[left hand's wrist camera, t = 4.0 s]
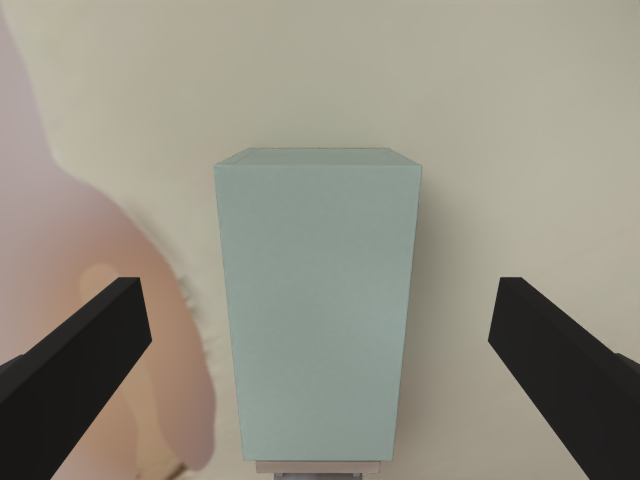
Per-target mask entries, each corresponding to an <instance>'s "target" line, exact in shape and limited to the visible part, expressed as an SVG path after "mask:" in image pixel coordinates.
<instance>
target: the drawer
mask: <svg viewBox="0 0 640 480" xmlns="http://www.w3.org/2000/svg"><path fill="white" fill-rule="evenodd" d="M256 471H257V473H274V480H362V473H379V471H380V461H309V460H256Z"/></svg>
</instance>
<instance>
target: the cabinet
mask: <svg viewBox="0 0 640 480" xmlns="http://www.w3.org/2000/svg"><path fill="white" fill-rule="evenodd" d="M213 167H214V177H215V186H216V196H217V206H218V216H219V226H220V235H221V245H222V255H223V265H224V274H225V284H226V294H227V304H228V314H229V323H230V333H231V343H232V353H233V362H234V372H235V382H236V392H237V402H238V411H239V421H240V431H241V441H242V450H243V460H309V461H392V458H393V449H394V439H395V429H396V419H397V410H398V400H399V390H400V380H401V370H402V361H403V351H404V341H405V331H406V321H407V312H408V302H409V292H410V282H411V272H412V263H413V253H414V243H415V233H416V224H417V214H418V204H419V194H420V184H421V175H422V166H421V165H420V164H418V163H416V162H414V161H412V160H410V159H408V158H406V157H404V156H402V155H401V154H399V153H397V152H395V151H393V150H391V149H389V148H247V149H245V150H244V151H242V152H240V153H238V154H236V155H234V156H232V157H230V158H228V159H226V160H224V161H222V162H220V163H217V164H215V165H214V166H213Z"/></svg>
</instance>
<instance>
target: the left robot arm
mask: <svg viewBox="0 0 640 480" xmlns="http://www.w3.org/2000/svg"><path fill="white" fill-rule="evenodd" d="M151 342H152V338H151V332H150V328H149V322H148V317H147V312H146V307H145V302H144V297H143V292H142V287H141V282H140V278H139V277H118V278H117V279H116V280H115V281H114V282H112V283H111V284H110V285H109V286H107V287H106V288H105V289H104V290H103V291H101V292H100V293H99V294H98V295H96V296H95V297H94V298H93V299H91V300H90V301H89V302H88V303H87V304H85V305H84V306H83V307H82V308H80V309H79V310H78V311H77V312H76V313H74V314H73V315H72V316H71V317H69V318H68V319H67V320H66V321H65V322H63V323H62V324H61V325H60V326H59V327H57V328H56V329H55V330H54V331H52V332H51V333H50V334H49V335H47V336H46V337H45V338H44V339H43V340H41V341H40V342H39V343H38V344H36V345H35V346H34V347H33V348H32V349H30V350H29V351H28V352H27V353H25V354H24V355H19V356H17V357H16V358H14V359H12V360H10V361H8V362H6V363H5V364H3V365H1V366H0V480H50V479H51V478H52V476H53V475H54V474H55V472H56V471H57V470H58V468H59V467H60V466H61V464H62V463H63V462H64V460H65V459H66V457H67V456H68V455H69V453H70V452H71V451H72V449H73V448H74V447H75V445H76V444H77V442H78V441H79V440H80V438H81V437H82V436H83V434H84V433H85V432H86V430H87V429H88V428H89V426H90V425H91V423H92V422H93V421H94V419H95V418H96V417H97V415H98V414H99V412H100V411H101V410H102V409H103V407H104V406H105V404H106V403H107V402H108V400H109V399H110V398H111V396H112V395H113V394H114V392H115V391H116V389H117V388H118V387H119V385H120V384H121V383H122V381H123V380H124V379H125V377H126V376H127V375H128V373H129V372H130V370H131V369H132V368H133V366H134V365H135V364H136V362H137V361H138V360H139V358H140V357H141V355H142V354H143V353H144V351H145V350H146V349H147V347H148V346H149V345H150V343H151ZM488 342H489V343H490V345H491V346H492V347H493V349H494V350H495V351H496V353H497V354H498V355H499V357H500V358H501V360H502V361H503V362H504V364H505V365H506V366H507V368H508V369H509V370H510V372H511V373H512V375H513V376H514V377H515V379H516V380H517V381H518V383H519V384H520V385H521V387H522V388H523V389H524V391H525V392H526V394H527V395H528V396H529V398H530V399H531V400H532V402H533V403H534V404H535V406H536V407H537V409H538V410H539V411H540V413H541V414H542V415H543V417H544V418H545V419H546V421H547V422H548V423H549V425H550V426H551V428H552V429H553V430H554V432H555V433H556V434H557V436H558V437H559V438H560V440H561V441H562V443H563V444H564V445H565V447H566V448H567V449H568V451H569V452H570V453H571V455H572V456H573V457H574V459H575V460H576V462H577V463H578V464H579V466H580V467H581V468H582V470H583V471H584V472H585V474H586V475H587V477H588V478H589V479H590V480H640V364H638V363H636V362H635V361H633V360H631V359H629V358H627V357H625V356H623V355H622V354H620V353H613V352H612V351H611V350H610V349H608V348H607V347H606V346H605V345H604V344H602V343H601V342H600V341H599V340H597V339H596V338H595V337H594V336H593V335H591V334H590V333H589V332H588V331H586V330H585V329H584V328H583V327H582V326H580V325H579V324H578V323H577V322H575V321H574V320H573V319H572V318H571V317H569V316H568V315H567V314H566V313H564V312H563V311H562V310H561V309H560V308H558V307H557V306H556V305H555V304H553V303H552V302H551V301H550V300H549V299H547V298H546V297H545V296H544V295H542V294H541V293H540V292H539V291H537V290H536V289H535V288H534V287H533V286H531V285H530V284H529V283H528V282H526V281H525V280H524V279H523V278H522V277H500V282H499V287H498V292H497V297H496V302H495V307H494V312H493V317H492V322H491V327H490V332H489V338H488Z"/></svg>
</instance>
